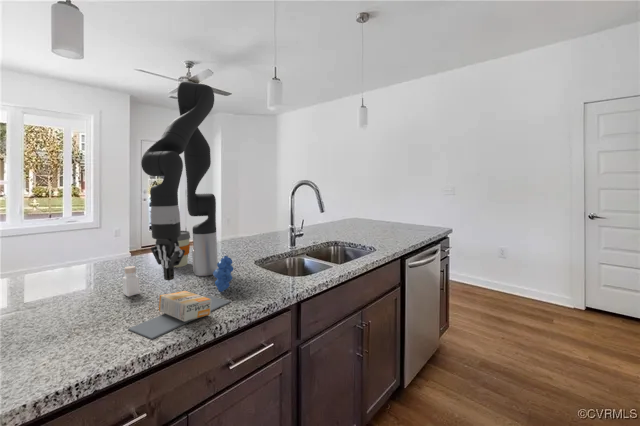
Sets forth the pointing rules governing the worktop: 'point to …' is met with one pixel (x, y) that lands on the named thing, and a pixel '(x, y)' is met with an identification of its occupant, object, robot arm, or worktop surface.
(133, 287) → the pepper shaker
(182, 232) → the reusable coffee cup
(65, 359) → the worktop surface
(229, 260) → the grapes
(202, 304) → the supplement box
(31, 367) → the worktop surface
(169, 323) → the rubber mat
